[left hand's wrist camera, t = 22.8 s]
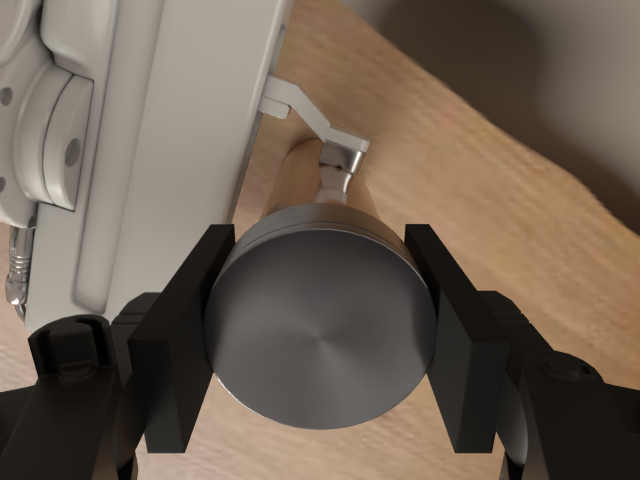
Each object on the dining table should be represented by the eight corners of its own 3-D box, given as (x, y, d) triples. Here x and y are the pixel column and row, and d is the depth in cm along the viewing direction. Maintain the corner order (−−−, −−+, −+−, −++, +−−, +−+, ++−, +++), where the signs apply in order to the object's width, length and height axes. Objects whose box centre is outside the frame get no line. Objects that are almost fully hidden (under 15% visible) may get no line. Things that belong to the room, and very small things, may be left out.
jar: (290, 129, 25) (248, 207, 10) (370, 150, 25) (437, 254, 11) (272, 206, 26) (214, 368, 12) (347, 225, 27) (379, 402, 12)
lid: (198, 218, 11) (174, 247, 9) (412, 187, 11) (431, 210, 9) (243, 389, 13) (231, 441, 11) (425, 367, 13) (443, 416, 11)
